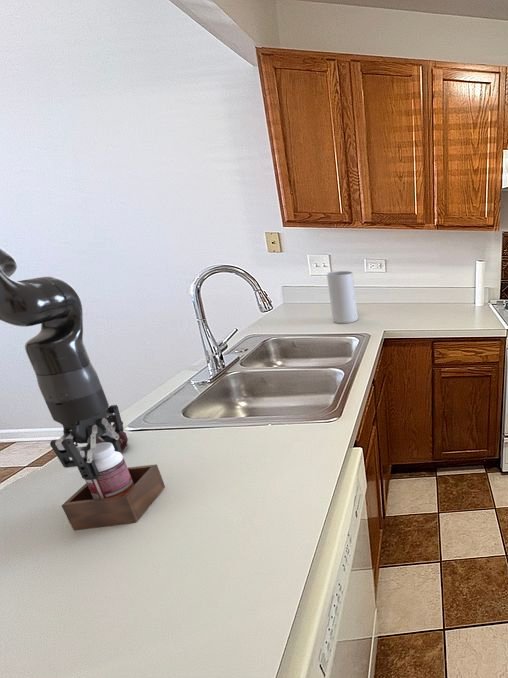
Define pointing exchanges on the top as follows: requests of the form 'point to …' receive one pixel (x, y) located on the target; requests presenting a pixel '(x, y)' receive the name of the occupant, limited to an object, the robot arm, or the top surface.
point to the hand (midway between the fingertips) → (104, 467)
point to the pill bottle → (109, 473)
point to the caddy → (115, 501)
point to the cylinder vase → (342, 296)
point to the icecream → (121, 440)
